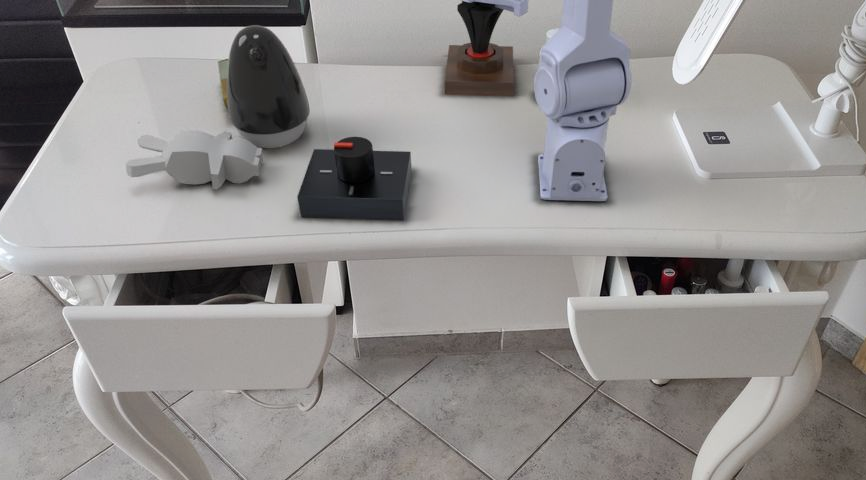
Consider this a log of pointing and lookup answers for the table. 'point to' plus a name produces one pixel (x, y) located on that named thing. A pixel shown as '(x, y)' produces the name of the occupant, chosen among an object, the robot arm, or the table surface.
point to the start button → (483, 55)
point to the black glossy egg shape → (265, 90)
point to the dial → (354, 159)
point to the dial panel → (356, 188)
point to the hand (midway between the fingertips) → (480, 50)
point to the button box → (479, 72)
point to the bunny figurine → (199, 158)
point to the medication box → (223, 78)
